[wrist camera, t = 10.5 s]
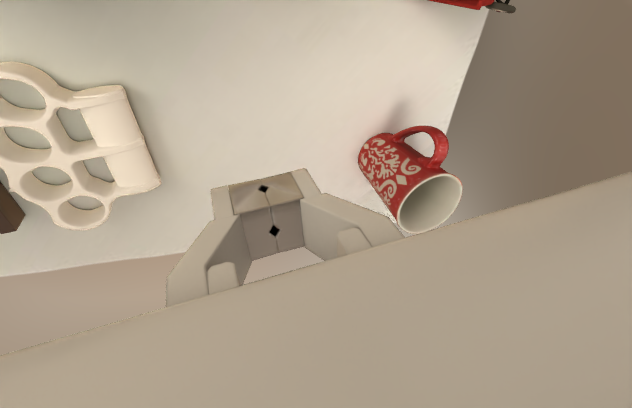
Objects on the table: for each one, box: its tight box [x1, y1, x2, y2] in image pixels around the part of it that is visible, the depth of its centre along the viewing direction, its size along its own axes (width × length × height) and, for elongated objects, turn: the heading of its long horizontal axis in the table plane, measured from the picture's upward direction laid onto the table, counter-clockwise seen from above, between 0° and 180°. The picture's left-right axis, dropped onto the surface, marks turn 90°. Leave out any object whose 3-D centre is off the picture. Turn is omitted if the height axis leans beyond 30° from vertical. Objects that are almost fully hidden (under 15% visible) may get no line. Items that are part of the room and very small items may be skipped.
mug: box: [358, 126, 463, 234], centre depth 45 cm, size 13×9×14 cm
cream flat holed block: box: [0, 62, 161, 230], centre depth 35 cm, size 3×18×15 cm
